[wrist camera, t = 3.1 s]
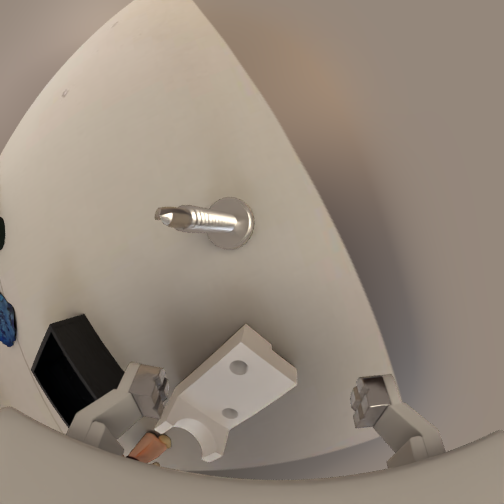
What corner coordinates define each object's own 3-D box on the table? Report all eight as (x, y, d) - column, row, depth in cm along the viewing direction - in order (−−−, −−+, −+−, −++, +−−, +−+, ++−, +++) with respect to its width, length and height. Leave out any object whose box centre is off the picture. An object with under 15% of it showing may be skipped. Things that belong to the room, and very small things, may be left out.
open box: (146, 400, 33) (116, 422, 27) (107, 429, 37) (82, 446, 31) (84, 313, 36) (49, 323, 29) (57, 359, 40) (30, 369, 33)
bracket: (220, 418, 31) (208, 462, 24) (175, 386, 30) (153, 429, 23) (296, 363, 28) (298, 413, 21) (245, 323, 27) (233, 368, 20)
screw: (208, 208, 29) (251, 193, 27) (220, 253, 29) (265, 240, 27) (123, 193, 16) (184, 162, 15) (138, 266, 16) (205, 244, 15)
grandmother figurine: (168, 428, 33) (115, 479, 21) (181, 448, 32) (133, 500, 20) (135, 430, 35) (84, 470, 23) (147, 448, 35) (100, 490, 22)
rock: (-8, 281, 48) (-13, 282, 46) (16, 308, 44) (10, 310, 42) (-3, 329, 50) (-8, 331, 49) (23, 361, 46) (17, 364, 44)
